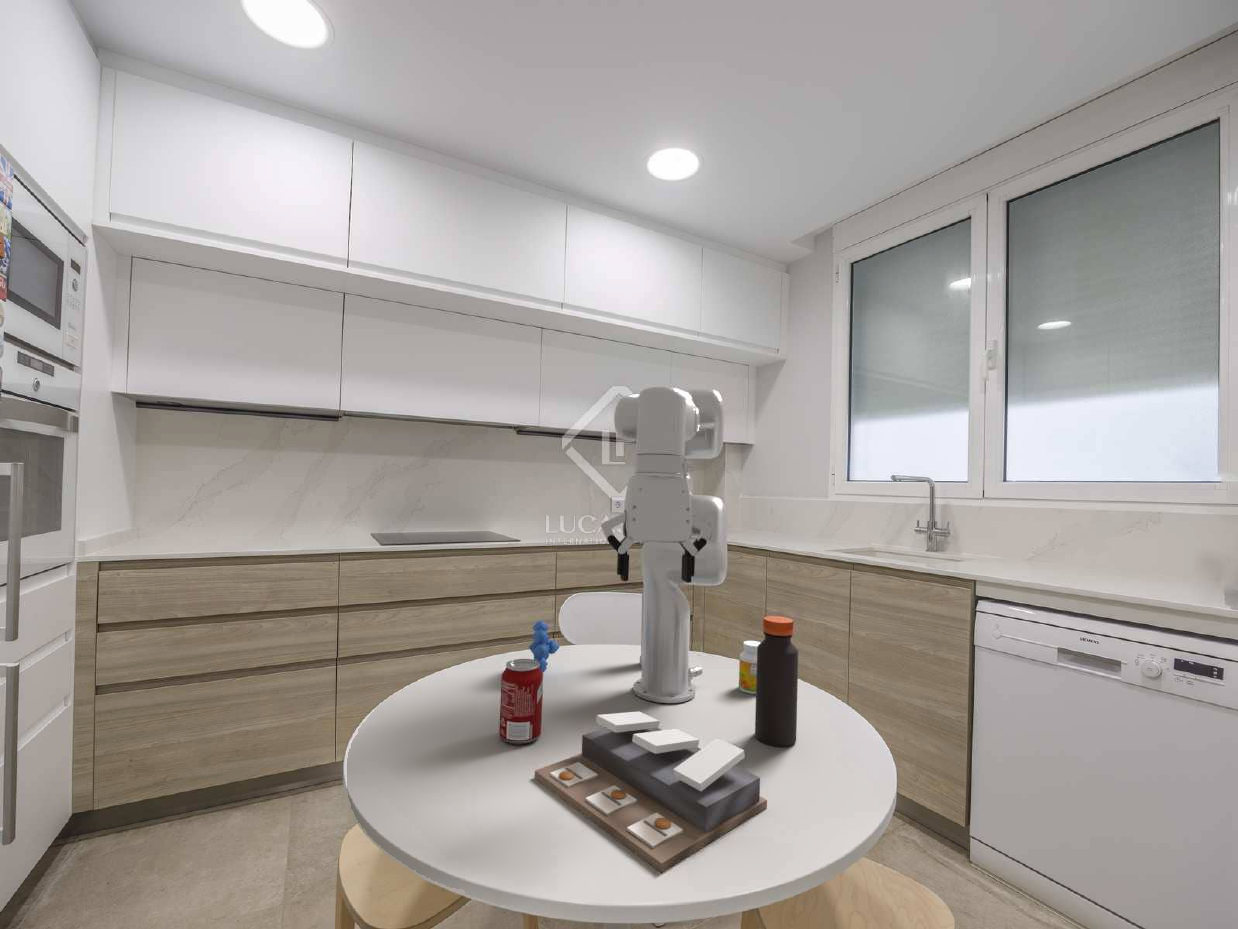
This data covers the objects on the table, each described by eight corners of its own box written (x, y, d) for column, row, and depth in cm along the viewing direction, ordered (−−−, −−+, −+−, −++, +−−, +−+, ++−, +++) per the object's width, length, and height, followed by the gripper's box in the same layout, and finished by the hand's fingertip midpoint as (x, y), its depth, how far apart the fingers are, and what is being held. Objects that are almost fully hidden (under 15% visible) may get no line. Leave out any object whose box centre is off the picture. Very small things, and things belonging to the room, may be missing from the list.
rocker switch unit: (636, 739, 93) (637, 714, 93) (766, 807, 75) (767, 776, 75) (534, 777, 80) (535, 749, 80) (661, 872, 61) (662, 835, 61)
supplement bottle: (735, 685, 120) (736, 639, 121) (760, 685, 121) (761, 639, 121) (743, 695, 115) (744, 646, 115) (768, 695, 116) (770, 647, 116)
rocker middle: (675, 735, 84) (676, 728, 85) (698, 747, 81) (699, 739, 81) (632, 741, 79) (633, 734, 79) (655, 753, 75) (656, 746, 75)
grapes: (560, 683, 118) (563, 625, 118) (528, 684, 116) (530, 626, 117) (556, 665, 129) (558, 613, 130) (526, 666, 128) (528, 613, 128)
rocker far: (638, 718, 90) (639, 711, 91) (658, 727, 87) (659, 720, 87) (595, 722, 85) (596, 715, 85) (615, 732, 81) (616, 725, 81)
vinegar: (803, 739, 96) (806, 620, 96) (784, 752, 91) (787, 626, 91) (766, 726, 100) (769, 612, 101) (747, 738, 95) (750, 618, 96)
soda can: (532, 750, 88) (535, 672, 89) (492, 744, 90) (495, 668, 90) (546, 731, 95) (549, 659, 95) (508, 726, 96) (511, 655, 97)
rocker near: (717, 745, 78) (717, 738, 78) (744, 757, 75) (744, 750, 75) (674, 776, 73) (673, 769, 72) (701, 791, 69) (700, 784, 69)
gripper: (706, 472, 92) (702, 578, 91) (600, 467, 89) (596, 576, 88) (721, 469, 84) (718, 585, 83) (607, 464, 82) (602, 583, 81)
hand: (655, 580), depth 86 cm, fingers open, 9 cm apart
